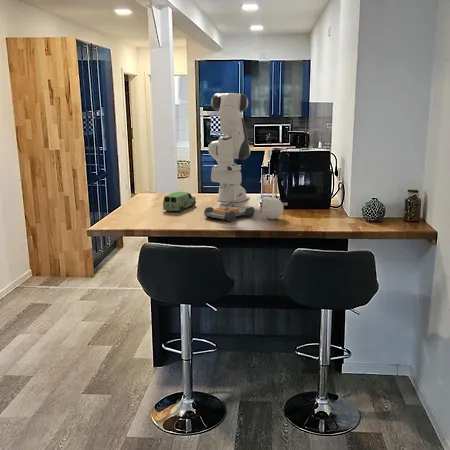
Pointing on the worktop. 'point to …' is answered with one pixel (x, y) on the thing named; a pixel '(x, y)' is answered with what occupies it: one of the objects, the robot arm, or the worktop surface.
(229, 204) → the grey wooden block
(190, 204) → the toy car
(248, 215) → the chassis
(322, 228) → the worktop surface
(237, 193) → the robot arm
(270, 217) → the decorative ball
